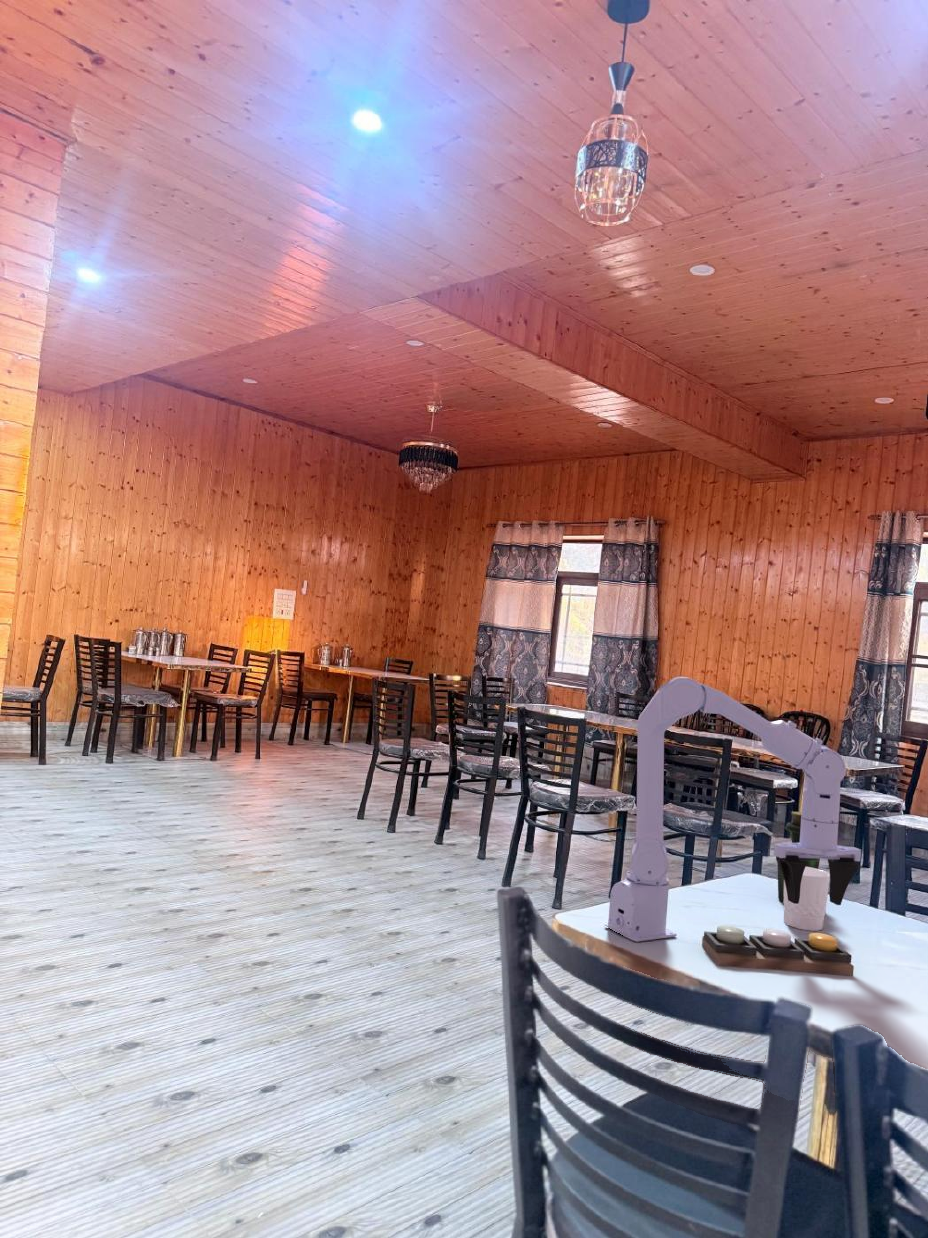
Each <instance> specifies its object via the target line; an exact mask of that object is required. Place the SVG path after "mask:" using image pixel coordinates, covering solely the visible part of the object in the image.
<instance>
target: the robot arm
mask: <svg viewBox="0 0 928 1238" xmlns="http://www.w3.org/2000/svg"><path fill="white" fill-rule="evenodd" d="M697 711H700V712H701V713H703V714H716V715H721V717H722V716H723V717H724V718H726V719H728V720H729V721H732V722H733V723H735V724H736V725H738V726H740V727H742V728H744V729H745V730H747V731H749V732H750V733H753V734H754V735H755V736H757V737H759V738H760V741H761V745H762V748H763V749H764V750H765V751H766V752H768V753H770V754H772V755H773V756H774V757H776V758H778V759H780V760H781V761H783V762H785V763H786V764H788V765H789V766H791V767H793V768H794V769H796V770H802V772H803V773H804V774H805V775H804V784H803V785H804V786H803V790H802V801H801V803H802V804H801V812H802V815H801V829H800V843H792V842H789V843H788V842H787V843H785V842H784V843H774V846H773V847H774V848H773V855H774V856H775V859H776V862H777V866H778V865H779V867H780V869H781V872H782V874H783V877H784V881H785V885H786V890H787V896H788V901H790V902H792V903H794V904H798V903H799V899H800V887H801V880H802V876H803V872H804V869H805V867H806V865H805V864H803V863H801V862H800V860H798V859H799V858H817V859H820V860H827V863H828V869H829V874H830V878H829V892H828V895H829V902H830V903H833V904H834V905H836V906H841V905H842V902H843V900H844V896H845V895H846V894H845V892H846V890H847V888H848V886H849V884H850V882H851V881H852V879H853V877H854V876H855V875H856V874H857V872H858V871H859V867H860V866H859V863H857V862H861V857H862V856H861V855H862V849H860V848H857V847H855V846H844V845H838V836H839V835H838V834H839V821H840V806H841V805H840V803H841V794H840V791H841V781H842V780H843V779H844V777H846V774H847V770H848V768H847V767H846V763H845V760H844V759H843V757H842V755H841V754H840V753H839V752H837V751H836V750H833V749H831V748H829V747H828V746H827V745H824V744H823V740H822V739H820V738H818V737H816V738H813V737H811V736H809V735H807V734H806V733H804V732H803V731H801V730H800V729H797V727H798V726H797V725H798V724H797V723H794V721H791V720H788V721H787V722H786V721H785V720H782V719H780V720H779V719H778V720H775V721H774V720H773V721H769V720H767V719H766V718H764V717H763V716H761V715H760V714H758V713H756V712H755V711H753V710H752V709H750V708H749V707H747V706H745V705H744V704H742V703H740V702H739V701H737V700H735V699H734V698H733V697H731V696H729V695H727V693H724V692H723V691H721V690H719V689H715V688H713V687H711V686H709V685H706V684H703V683H699V682H698V681H697V680H696V679H693V678H692V677H691V678H690V677H688V676H686V677H685V676H677V677H674V678H673V677H672V678H671V679H669V680H668V682H666V683H664V684H662V685H661V686H660V687H659V688H658V689H657V691H656V692H655V693H654V695H653V696H652V698H651V700H649V702H648V703H647V705H646V706H645V708H644V709H643V711H642V712H641V713H640V714H639V716H638V719H637V757H636V758H637V760H636V763H637V764H636V765H637V766H636V768H637V769H636V772H637V773H636V825H635V826H636V830H635V831H636V835H635V839H634V840H633V842H632V845H631V847H630V863H629V865H630V869H629V870H627V871H626V877H625V878H624V879H623V880H621V881H618V882H616V883H615V884H614V885H612V888H611V891H610V897H609V907H608V908H609V909H608V922H607V923H605V924H604V927H605V926H607V927H608V928H610V929H612V930H613V931H612V930H611V931H612V932H614V931H615V932H614V933H616V932H617V934H618V933H620V934H621V936H622V935H623V936H622V937H625V938H627V939H629V940H631V941H632V942H645V941H652V940H658V939H660V940H661V939H666V938H674V937H677V933H676V932H674V931H673V930H670V929H667V913H668V903H669V901H668V900H669V892H670V891H669V890H670V878H669V877H668V876H667V874H668V872H669V871H670V870H669V869H670V861H669V856H668V850H667V847H666V845H665V843H664V783H665V782H664V780H665V779H664V777H665V776H664V774H665V773H664V772H665V771H664V769H665V768H664V767H665V766H664V765H665V764H664V763H665V761H664V760H665V759H664V758H665V732H666V731H667V730H668V729H669V728H671V727H672V726H673V725H674V724H676V722H678V720H680V719H683V718H686V717H687V716H690V715H693V714H694V713H696V712H697ZM813 854H815V855H813ZM608 928H607V929H608ZM610 929H609V930H610ZM620 934H619V935H620Z"/></svg>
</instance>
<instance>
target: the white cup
mask: <svg viewBox="0 0 928 1238" xmlns="http://www.w3.org/2000/svg"><path fill="white" fill-rule="evenodd" d="M829 888H830V872H828V871H825V870H822V869H820V868H818V869H816V868H811V867H805V869H804V872H803V876H802V880H801V887H800V899H799V903H798V904H794V903H792V902H790V901H788V896H787V890H786V885H785V881H784V903H783V908H784V909H783V922H784V923H785V924H786V925H788V926H789V927H792V928H795V929H799V930H803V931H813V932H818V931H821V930H822V929H824V922H825V921H824V920H825V915H826V910H827V901H828V895H829Z"/></svg>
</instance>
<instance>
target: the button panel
mask: <svg viewBox="0 0 928 1238" xmlns="http://www.w3.org/2000/svg"><path fill="white" fill-rule="evenodd" d="M716 936H717V931H716V932H715V931H704V932H703V936H702V938H701V939H702V940H701V946H702V947H703V949H704V950H705V951H706V952H707V953H708V954H709V956H711V958H712V959H713V960H714V961H715V962H716V963H717V965H718V966H723V967H737V968H749V969H750V968H751V969H760V970H761V969H763V970H772V971H773V970H776V971H777V970H778V971H787V972H789V971H790V972H800V973H810V974H811V973H814V974H826V975H835V976H836V975H839V976H849V977H850V976H851V977H854V965H853V964H852V954H850V953H849V952H848V951H846V950H845V949H844V948H842V947H841V946H840V945H838V944H837V950H835V951H826V950H821V949H817V948H814V947H812V946H810V945H809V939H803V938H794V942H793V940H791V942H790V946H789V947H777V946H773V945H769V944H767V943H765V942H763V935H752V934H749V937H748V938H747V937H746V936H745V935H744V942H743V943H729V942H725V941H722V940H719V939H718V938H717V937H716Z"/></svg>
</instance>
